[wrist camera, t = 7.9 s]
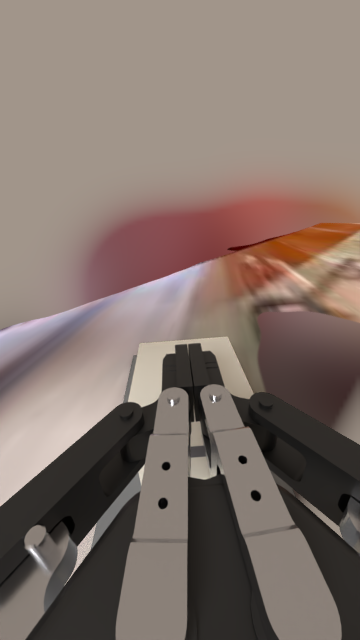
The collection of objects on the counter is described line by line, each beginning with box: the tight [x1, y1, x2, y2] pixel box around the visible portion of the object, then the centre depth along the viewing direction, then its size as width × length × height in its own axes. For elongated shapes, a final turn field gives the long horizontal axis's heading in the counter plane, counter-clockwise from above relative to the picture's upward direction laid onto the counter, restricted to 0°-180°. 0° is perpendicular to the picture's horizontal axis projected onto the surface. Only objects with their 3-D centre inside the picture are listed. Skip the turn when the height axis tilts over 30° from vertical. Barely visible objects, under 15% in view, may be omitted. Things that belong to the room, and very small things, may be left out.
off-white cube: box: [128, 337, 254, 485], centre depth 20 cm, size 8×8×8 cm
